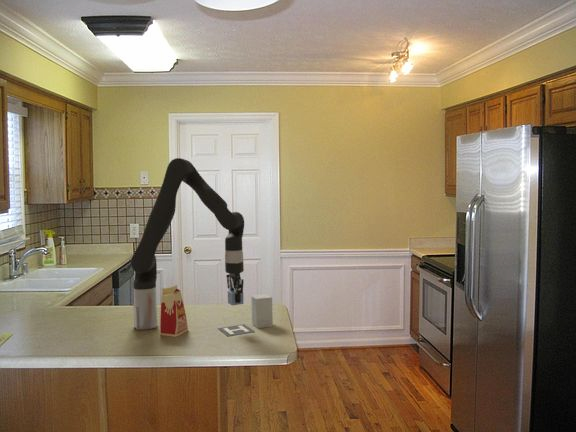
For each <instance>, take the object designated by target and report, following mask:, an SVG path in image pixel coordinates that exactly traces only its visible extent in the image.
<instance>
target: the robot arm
mask: <svg viewBox="0 0 576 432" xmlns="http://www.w3.org/2000/svg"><path fill="white" fill-rule="evenodd" d="M182 183H185V184H186V185H188V186H189V187H190V188H191V189H192V191H194V192H195V193H196V195H197V196H198V198H199V199H200V202H202V203H203V205H204V206H205V207H207V209H208V210H209V211H210V212H211V213H212V214H214V216H215V218H216V220H217V222H219V224H220V225H221V227H222V228H223V229H225V230H227V231H228V235H227V236H226V237H225V240H224V246H225V248H224V249H225V250H224V251H225V252H224V265H225V266H224V269H225V270H224V271H225V273H226V276H225V277H226V284H227V285H226V286H227V289H228V291H232V290H234V291H235V303H240V302H241V295H240V294H241V293H243V294H244V279H243V278H242V277H241V273H243V272H244V269H245V268H244V252H243V236H244V230H245V219H244V216H243V214H241V213H240V212H239V211H230V209H229V208H228V204H227V203H228V202H226V201H225V200H224V199H223V198H222V197H221V196H220V194H219V193H218V192H216V191H215V190H214V189H213V188H212V186H210V185H209V184H208V183H207V181H206V180H205V179H204V178H203V177H202V176H201V174H200V173H199V172H198V170H197V168H196V167H195V166H194V165H193V163H192V162H191V161H189V160H188V159H184V158H180V157H175V158H173V159H171V161H169V163H168V164H167V168H166V171H165V174H164V177H163V182H162V184H161V188H160V190H159V193H158V195H157V197H156V199H155V201H154V205H153V207H152V209H151V211H150V214H149V216H148V219H147V221H146V224H145V228H144V230H143V233H142V237H141V239H140V241H139V243H138V246H137V247H136V249H135V251H134V253H133V255H132V256H131V259H130V266H131V269H132V271H134V280H133V301H134V303H133V305H132V306H133V323H134V324H133V326H134V328H135V329H136V331H138V330H139V331H140V330H152V329H155V328H157V327H158V307H157V305H158V304H157V277H158V273H157V267H158V266H157V257H156V252H157V249H158V246H159V244H160V243H161V242H162V239H163V238H164V236H165V235H166V234H167V231H168V230H169V227H170V226H171V223H172V221H173V218H174V216H175V213H176V208H177V207H176V205H177V203H176V202H177V194H178V191H179V188H180V187H181V184H182Z"/></svg>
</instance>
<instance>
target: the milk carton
mask: <svg viewBox="0 0 576 432" xmlns="http://www.w3.org/2000/svg"><path fill="white" fill-rule="evenodd" d="M161 290H162V292H161V298H160V299H161V301H160V318H159V319H160V320H159V321H160V322H159V330H160V331H159V336H165V337H166V336H167V337H168V336H169V337H174V338H177V337H178V336H180V335H182V334H184V333H186V332H188V331H189V325H188V319H187V314H186V309H185V304H184V301H183V296H182V293H181V290H180V289H179V288H178V285H174V286H169V287H164V288H161Z"/></svg>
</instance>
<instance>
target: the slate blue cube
mask: <svg viewBox="0 0 576 432" xmlns="http://www.w3.org/2000/svg"><path fill="white" fill-rule="evenodd" d="M240 295H241V302H240V303H235V291H234V290H232V291H229V290H227V304H229V305H231V306H236V305H237V306H238V305H243V304H244V292H243V293H241V294H240Z"/></svg>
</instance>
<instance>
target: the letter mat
mask: <svg viewBox="0 0 576 432" xmlns="http://www.w3.org/2000/svg"><path fill="white" fill-rule="evenodd" d="M217 329H218V330H219V331H220V332H221V333H223V334H224V335H225V336H226V337H233V336H240V335H243V334H250V333H255V332H256V331H255V330H254V329H252V328H251V327H249V326H248V325H246V324H245V323H244V324H235V325H230V326H224V327H217Z"/></svg>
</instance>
